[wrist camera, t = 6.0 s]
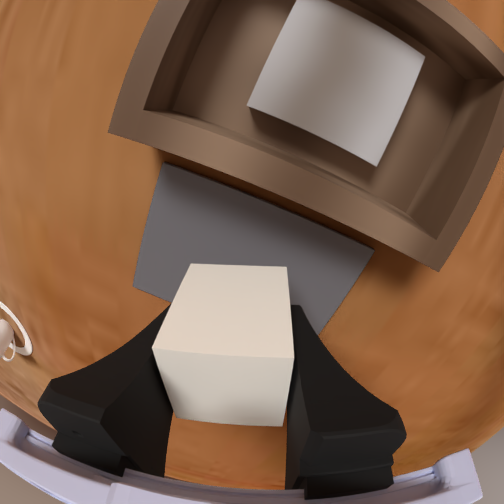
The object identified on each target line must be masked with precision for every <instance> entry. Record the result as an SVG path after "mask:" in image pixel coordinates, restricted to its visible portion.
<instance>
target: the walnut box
mask: <svg viewBox="0 0 504 504" xmlns="http://www.w3.org/2000/svg"><path fill="white" fill-rule="evenodd" d="M108 133H111V134H114V135H117V136H121V137H124V138H127V139H130V140H133V141H136V142H139V143H142V144H146V145H149V146H152V147H155V148H158V149H160V150H163V151H166V152H169V153H172V154H175V155H178V156H181V157H183V158H186V159H189V160H192V161H194V162H197V163H200V164H203V165H205V166H208V167H211V168H213V169H216V170H219V171H221V172H224V173H226V174H229V175H231V176H234V177H237V178H239V179H242V180H244V181H247V182H249V183H252V184H254V185H257V186H259V187H261V188H264V189H266V190H269V191H271V192H273V193H276V194H278V195H281V196H283V197H285V198H288V199H290V200H292V201H294V202H297V203H299V204H301V205H304V206H306V207H308V208H310V209H313V210H315V211H317V212H319V213H321V214H324V215H326V216H328V217H330V218H332V219H334V220H337V221H339V222H341V223H343V224H345V225H347V226H349V227H351V228H354V229H356V230H358V231H360V232H362V233H364V234H366V235H368V236H370V237H372V238H374V239H376V240H378V241H380V242H382V243H384V244H386V245H388V246H390V247H392V248H394V249H396V250H398V251H400V252H402V253H404V254H405V255H407V256H409V257H411V258H413V259H415V260H417V261H419V262H420V263H422V264H424V265H426V266H428V267H430V268H432V269H433V270H435V271H437V272H439V271H440V269H441V268H442V266H443V265H444V263H445V262H446V260H447V258H448V257H449V255H450V254H451V252H452V250H453V249H454V247H455V246H456V244H457V242H458V240H459V239H460V237H461V235H462V234H463V232H464V230H465V228H466V226H467V225H468V223H469V221H470V219H471V217H472V215H473V214H474V212H475V210H476V208H477V206H478V204H479V202H480V200H481V198H482V196H483V194H484V192H485V190H486V187H487V185H488V183H489V181H490V179H491V176H492V174H493V172H494V170H495V167H496V165H497V162H498V160H499V157H500V155H501V152H502V150H503V147H504V53H503V52H502V51H501V50H500V49H499V48H498V47H497V45H496V44H495V43H494V42H493V41H492V40H491V39H490V38H489V37H488V36H487V35H486V34H485V33H484V32H483V31H481V30H480V29H479V28H478V27H477V26H476V25H475V24H474V23H473V22H472V21H471V20H469V19H468V18H467V17H466V16H465V15H464V14H463V13H461V12H460V11H459V10H458V9H457V8H455V7H454V6H453V5H452V4H450V3H449V2H448V1H446V0H159V1H158V3H157V5H156V6H155V8H154V10H153V12H152V14H151V16H150V19H149V21H148V23H147V25H146V27H145V29H144V31H143V34H142V36H141V38H140V40H139V43H138V45H137V47H136V50H135V52H134V55H133V57H132V60H131V62H130V65H129V68H128V70H127V73H126V76H125V79H124V81H123V84H122V87H121V90H120V93H119V96H118V99H117V102H116V106H115V109H114V112H113V116H112V119H111V123H110V126H109V130H108Z"/></svg>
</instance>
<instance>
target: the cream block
mask: <svg viewBox="0 0 504 504" xmlns="http://www.w3.org/2000/svg"><path fill="white" fill-rule="evenodd" d="M152 350H153V353H154V356H155V359H156V362H157V366H158V369H159V372H160V375H161V377H162V380H163V383H164V386H165V389H166V392H167V394H168V397H169V400H170V402H171V405H172V408H173V410H174V413H175V415H176V418H182V419H188V420H196V421H204V422H213V423H223V424H236V425H253V426H283V420H284V415H285V410H286V404H287V399H288V393H289V387H290V381H291V375H292V369H293V363H294V347H293V334H292V321H291V309H290V297H289V286H288V275H287V267H278V266H246V265H217V264H190V266H189V268H188V270H187V272H186V275H185V277H184V279H183V281H182V283H181V285H180V287H179V289H178V291H177V293H176V296H175V298H174V300H173V302H172V304H171V306H170V308H169V311H168V313H167V315H166V317H165V319H164V322H163V324H162V326H161V328H160V330H159V333H158V335H157V337H156V339H155V342H154V344H153V346H152Z"/></svg>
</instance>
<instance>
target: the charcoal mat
mask: <svg viewBox="0 0 504 504" xmlns="http://www.w3.org/2000/svg"><path fill="white" fill-rule="evenodd" d="M374 251H375V250H374V249H373V248H371V247H369V246H367V245H365V244H363V243H361V242H359V241H357V240H354V239H352V238H350V237H348V236H346V235H344V234H342V233H339V232H337V231H335V230H333V229H331V228H328V227H326V226H324V225H322V224H319V223H317V222H315V221H313V220H310V219H308V218H306V217H304V216H301V215H299V214H297V213H294V212H292V211H290V210H287V209H285V208H283V207H280V206H278V205H275V204H273V203H271V202H268V201H266V200H263V199H261V198H259V197H256V196H254V195H251V194H249V193H246V192H244V191H241V190H239V189H236V188H234V187H231V186H229V185H226V184H223V183H221V182H218V181H216V180H213V179H210V178H208V177H205V176H202V175H200V174H197V173H194V172H192V171H189V170H186V169H184V168H181V167H178V166H175V165H173V164H170V163H167V162H163V164H162V167H161V170H160V174H159V177H158V181H157V184H156V188H155V191H154V195H153V198H152V202H151V206H150V210H149V214H148V218H147V222H146V226H145V230H144V234H143V238H142V243H141V247H140V252H139V257H138V261H137V266H136V271H135V276H134V282H133V287H135V288H138V289H140V290H142V291H145V292H147V293H150V294H152V295H154V296H157V297H159V298H162V299H164V300H167V301H169V302H173V300H174V298H175V296H176V293H177V291H178V289H179V287H180V285H181V283H182V281H183V279H184V277H185V275H186V272H187V270H188V268H189V266H190V264H217V265H246V266H278V267H287V275H288V286H289V297H290V305H300V306H301V307H302V308H303V311H304V313H305V315H306V317H307V319H308V321H309V322H310V324H311V326H312V327H313V329H314V331H315V332H316V334H317V335H318V334H319V333H320V332H321V330H322V329H323V328H324V326H325V325H326V324H327V322H328V321H329V319H330V318H331V317H332V315H333V314H334V312H335V311H336V309H337V308H338V307H339V305H340V304H341V302H342V301H343V299H344V298H345V296H346V295H347V293H348V292H349V290H350V289H351V288H352V286H353V284H354V283H355V281H356V280H357V278H358V277H359V275H360V274H361V272H362V271H363V269H364V268H365V266H366V264H367V263H368V261H369V260H370V258H371V256H372V255H373V253H374Z"/></svg>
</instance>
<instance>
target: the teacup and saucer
mask: <svg viewBox="0 0 504 504" xmlns="http://www.w3.org/2000/svg"><path fill="white" fill-rule="evenodd" d="M0 307H1V308H2V309H3V310H5V311H6V312H7V313H8V314H9V315H10V316H11V317H12V318H13V320H14V321H15V322H16V324H17V325H18V327H19V328H20V330H21V332H22V333H23V336H24V338H25V346H24V347H22V348H20V347H17V346H15V339H14V331H13V329H12V327H11V326H10V324H9V323H8V322H7V321H6V320H4V319H1V320H0V358H1V357H2V358H3V359H4V360H5V361H8V362H10V361H12V360H13V358H14V356H15V351H16V352H18V353H20V354H22V355H30V354H31V353H32V343H31V340H30V338H29V336H28V334H27V332H26V330H25V329H24V327H23V326H22V324H21V323H20V321H19V320H18V319H17V317H16V316H15V315H14V314H13V313H12V312H11V311H10V309H9V308H8V307H6V306H5V305H4V304H3V303H2V302H0ZM12 340H13V344H14V345H13V344H12V343H11V341H12ZM8 346H9V347H10V348H12V349H13V350H14V352H13V356H12V358H11V359H7V358H6V357H5V355H4V352H5V351H6V349H7V348H8Z"/></svg>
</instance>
